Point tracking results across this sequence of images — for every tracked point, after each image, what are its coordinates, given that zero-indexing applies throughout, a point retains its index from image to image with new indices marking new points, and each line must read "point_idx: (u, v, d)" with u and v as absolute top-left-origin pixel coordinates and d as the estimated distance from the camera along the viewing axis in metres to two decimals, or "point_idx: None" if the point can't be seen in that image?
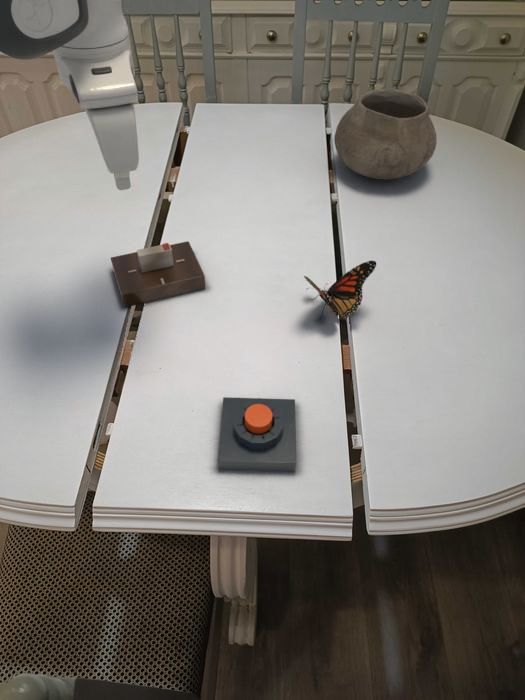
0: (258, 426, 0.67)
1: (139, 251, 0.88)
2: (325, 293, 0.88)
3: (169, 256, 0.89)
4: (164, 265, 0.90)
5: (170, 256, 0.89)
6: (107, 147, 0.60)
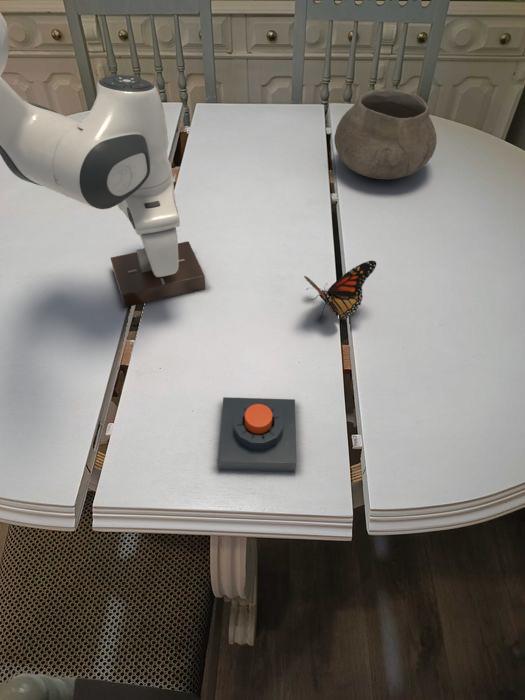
0: (258, 426, 0.67)
1: (139, 251, 0.88)
2: (325, 293, 0.88)
3: None
4: None
5: None
6: (155, 260, 0.77)
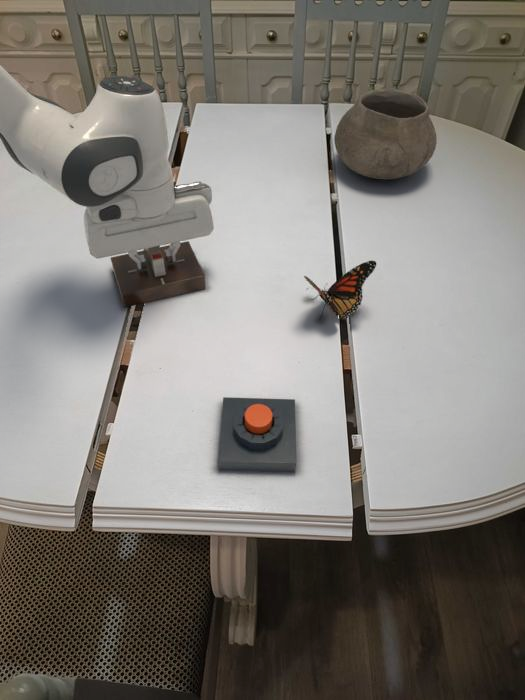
0: (258, 426, 0.67)
1: None
2: (325, 293, 0.88)
3: (153, 265, 0.87)
4: None
5: (153, 266, 0.87)
6: None
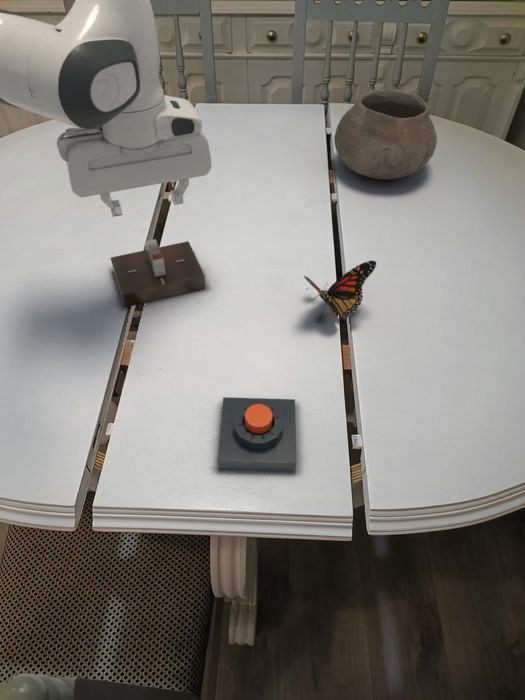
0: (258, 426, 0.67)
1: (152, 240, 0.90)
2: (325, 293, 0.88)
3: (153, 265, 0.87)
4: None
5: (153, 266, 0.87)
6: None
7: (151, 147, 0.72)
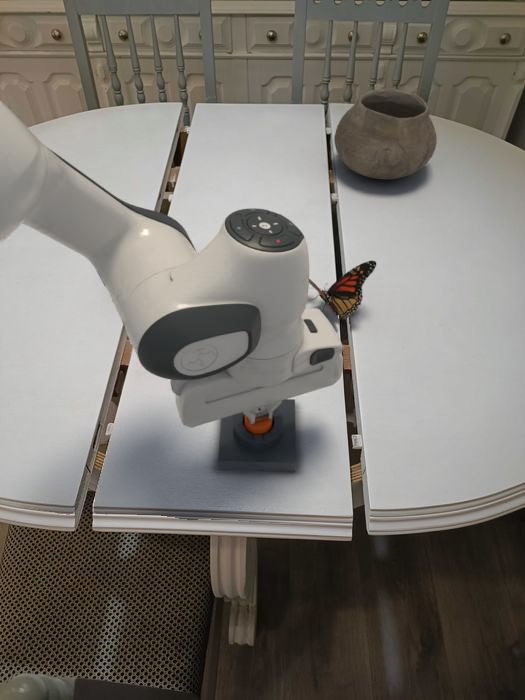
0: (258, 428, 0.68)
1: None
2: (325, 293, 0.88)
3: None
4: None
5: None
6: None
7: None
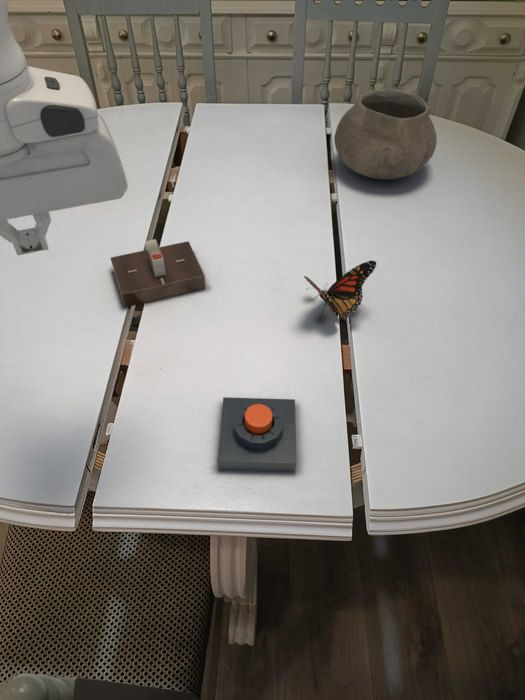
0: (258, 426, 0.67)
1: (152, 240, 0.90)
2: (325, 293, 0.88)
3: (153, 265, 0.87)
4: None
5: (153, 266, 0.87)
6: None
7: (12, 155, 0.42)
